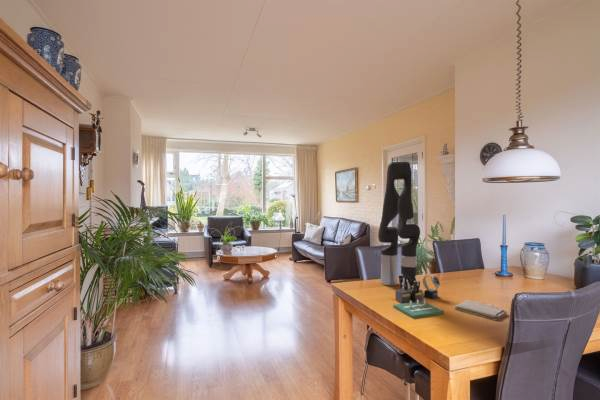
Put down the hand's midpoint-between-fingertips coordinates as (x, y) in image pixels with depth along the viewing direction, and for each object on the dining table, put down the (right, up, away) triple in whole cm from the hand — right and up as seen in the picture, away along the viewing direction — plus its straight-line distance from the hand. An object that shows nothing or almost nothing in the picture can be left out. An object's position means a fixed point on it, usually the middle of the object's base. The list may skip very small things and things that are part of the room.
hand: (409, 299), depth 157 cm
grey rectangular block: (0, -1, 0) cm, 1 cm away
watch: (+13, -1, +5) cm, 14 cm away
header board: (-1, -1, -14) cm, 14 cm away
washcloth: (+26, -1, -16) cm, 30 cm away
